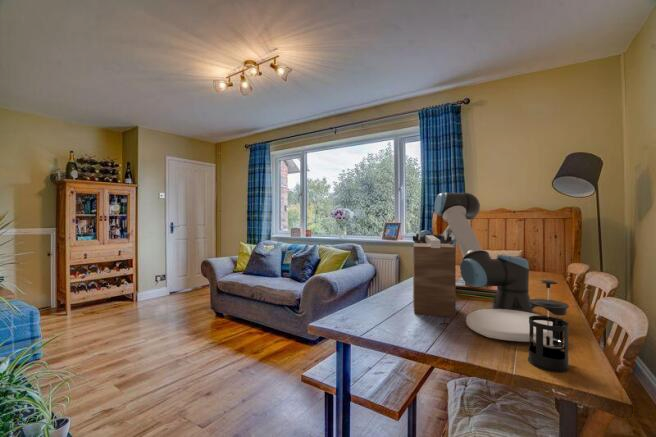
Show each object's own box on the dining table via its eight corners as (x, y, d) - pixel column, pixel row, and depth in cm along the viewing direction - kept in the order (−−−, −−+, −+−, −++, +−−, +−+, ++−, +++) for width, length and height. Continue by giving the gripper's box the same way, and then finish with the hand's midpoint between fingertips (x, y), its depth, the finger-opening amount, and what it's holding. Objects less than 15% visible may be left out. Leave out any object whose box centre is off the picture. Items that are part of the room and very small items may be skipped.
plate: (481, 331, 98) (455, 306, 124) (483, 351, 98) (457, 323, 124) (576, 324, 95) (529, 301, 122) (579, 345, 95) (531, 317, 122)
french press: (557, 376, 79) (557, 286, 79) (519, 361, 87) (519, 279, 87) (579, 365, 85) (579, 281, 85) (541, 352, 93) (542, 275, 93)
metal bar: (425, 241, 155) (425, 235, 155) (432, 241, 154) (432, 235, 154) (431, 247, 124) (431, 240, 124) (440, 248, 123) (440, 240, 123)
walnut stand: (413, 303, 145) (413, 243, 145) (449, 305, 141) (449, 243, 141) (414, 313, 129) (414, 246, 129) (455, 316, 126) (455, 247, 125)
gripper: (453, 255, 177) (459, 239, 159) (408, 253, 183) (408, 238, 165) (452, 243, 181) (457, 226, 163) (408, 242, 187) (408, 225, 169)
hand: (433, 232), depth 164 cm, fingers open, 13 cm apart
